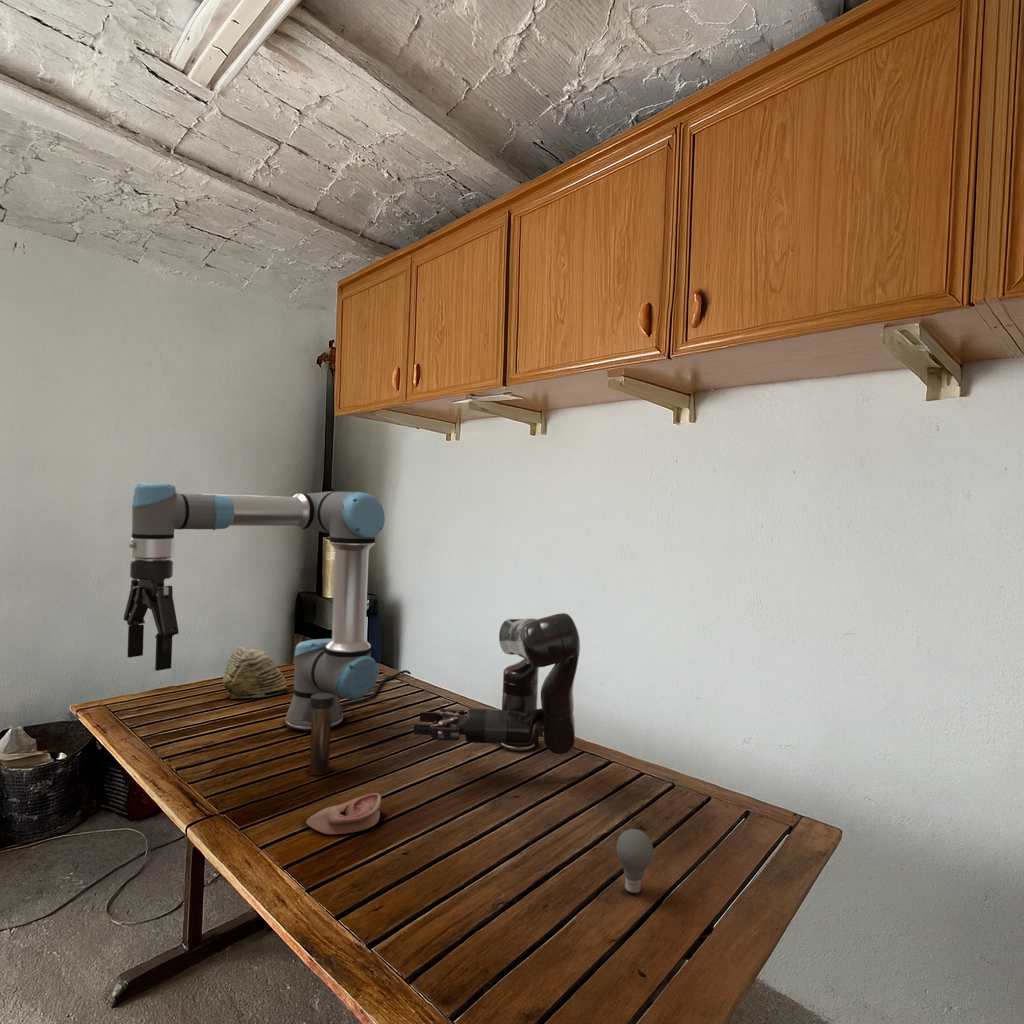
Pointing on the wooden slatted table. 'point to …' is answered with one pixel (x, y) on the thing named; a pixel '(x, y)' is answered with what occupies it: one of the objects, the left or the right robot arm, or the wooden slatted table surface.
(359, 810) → the anatomical model
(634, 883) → the light bulb
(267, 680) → the fossil
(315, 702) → the lid
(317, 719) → the dark brown cylindrical piece
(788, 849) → the wooden slatted table surface
